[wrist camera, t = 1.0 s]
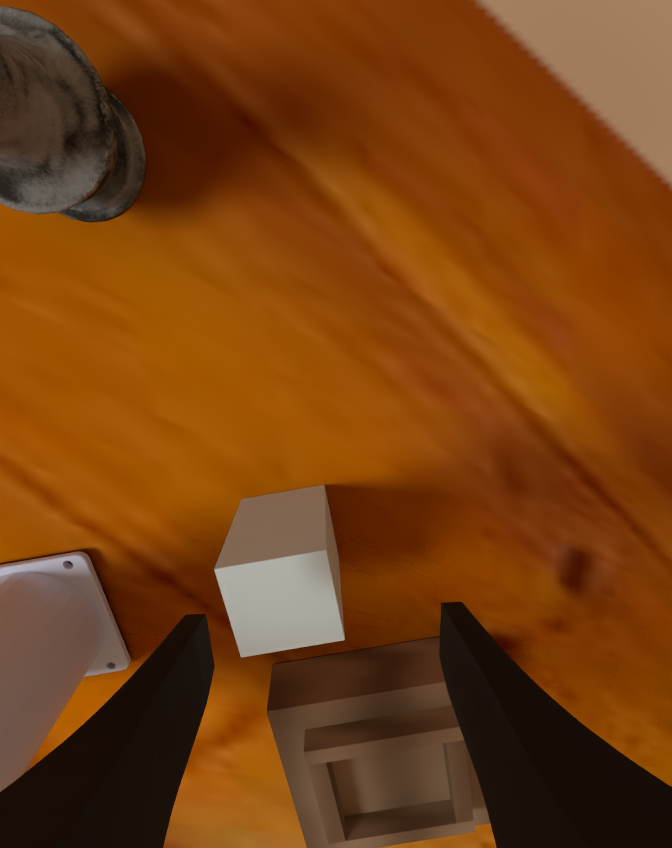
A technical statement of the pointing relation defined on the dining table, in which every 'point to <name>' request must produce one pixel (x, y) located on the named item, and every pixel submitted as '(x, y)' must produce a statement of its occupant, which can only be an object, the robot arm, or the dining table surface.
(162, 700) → the robot arm
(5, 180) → the salt shaker
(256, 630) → the block
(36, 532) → the dining table surface
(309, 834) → the taupe stepped square slab
